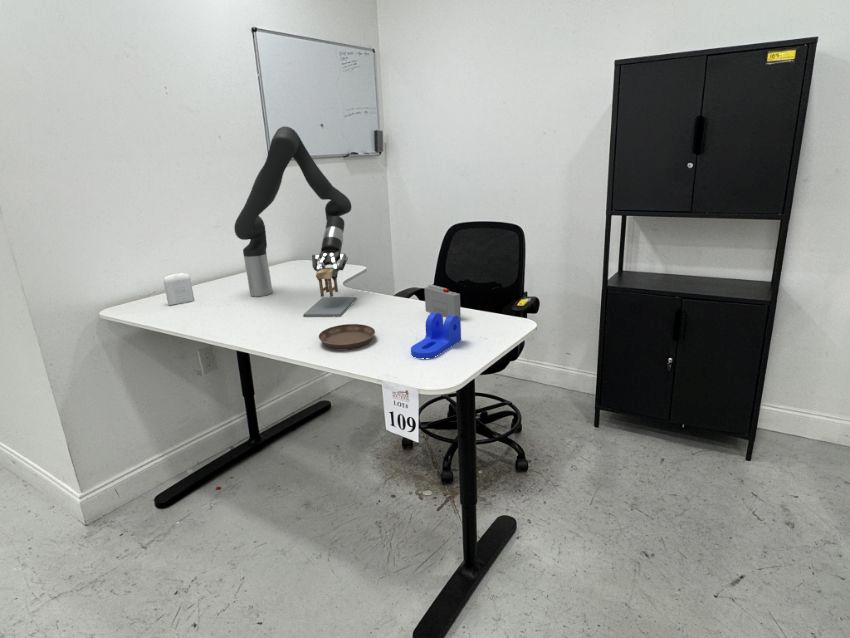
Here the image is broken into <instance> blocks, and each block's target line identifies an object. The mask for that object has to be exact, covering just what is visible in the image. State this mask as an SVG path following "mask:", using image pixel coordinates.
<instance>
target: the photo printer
mask: <svg viewBox="0 0 850 638" xmlns="http://www.w3.org/2000/svg"><path fill="white" fill-rule="evenodd" d="M163 286H164V290H165V294H166V301H167V305H168V306H174V304H175V305H178V304H185V302H186V303H190V302H195V297H194V290H193V285H192V281H191V277H190V274H188V273H180V272H179V273H174V274H173V273H172V274H170V275H167V276H165V277H163Z"/></svg>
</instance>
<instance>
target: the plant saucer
mask: <svg viewBox="0 0 850 638" xmlns="http://www.w3.org/2000/svg"><path fill="white" fill-rule="evenodd" d="M375 334H376V330H375V328H374V327H372V326H370V325H366V324H360V323H348V324H339V325H335V326H331V327H328V328H326V329H324V330H322V331H321V332H320V333H319V334H318V339H319V340H320V342H321V343H322V344H323V345H324V346H326V347H327V348H329V349H331V348H332V350H336V349H341V350H340V351H342V349H348V350H354V349H353V348H355V349H358V347H359V348H361V346H362V347H363V345H364V346H366V345H368V344H369V343H370V341H371V340H372V339H373V338H374V337H375Z"/></svg>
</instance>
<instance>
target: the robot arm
mask: <svg viewBox="0 0 850 638" xmlns="http://www.w3.org/2000/svg"><path fill="white" fill-rule="evenodd" d="M266 156H267V157H266V159H265V162H264V164H263V166H262V168H261V169H260V171H258V174H257V176H256V177H255V179H254V183H253V185H252V188H251V190H250V193H249V195H248V197H247V199H246V202H245V203H244V205H243V208H242V209H241V212H239V214H238V216H237V218H236V220H235V222H234V226H233V227H234V233H235V236H236V237H237V238H238V239H239V240H242V241H249V243H248V244H247V245H246V246H245V247H244V248H243V249H242V253H243V259H244V265H245V270H246V277H247V281H248V282H247V283H248V284H247V285H248V289H249V295H250V296H251V297H264V296H269V295H271V294H273V286H272V280H271V278H272V277H271V273H270V267H269V262H268V256H267V246H268V243H267V231H266V227H265V226H266V225H265V222H264V220H263V218H262V217H261V216H260V214H262V213H263V212H264V211H265V210H266V209H268V207H270V205H271V204H272V203H273V202H274V200H275V199H276V196H277V195H278V192H279V190H280V188H281V185H282V183H283V182H282V180H283V176H284V173H285V171H286V169H287V167H288V166H289V163H290V162H291V161H292V159H294V161H295V163H296V164H297V165H298V167H299V169H300V170H301V173H302V175H303V177H304V179H305V181H306V182H307V184H308V186H309V187H310V188H311V190H312V191H313V192H314V193H315V194H316V196H318V198H319V199H321V200H323V201H325V200H327V201H328V200H329V201H328V202H327V203H326V204H325V207H324V210H325V211H324V213H325V219H326V224H325V229H324V233H323V236H322V242H321V249H320V252H319V253H318V254H317V255H315V254H312V255H311V260H312V261H311V263H312V264H311V265H312V268H313V270H314V272H316V273H317V272H318V271H320V270H321V269H323V268H327V266H329V265H331V266H333V267H334V269H333V273H332V278H331V280H332V281H334V280H335V279H337V280H338V274H339V272H340V271H343V270H344V269H345V267H346V264H347V261H348V255H347V254H346V253H343V254H341V253H342V248H343V247H342V246H343V243H344V231H345V219H343V217H342V216H344V215H346V214H349V213H350V212H351V211H352V203H351V200H350V199H349V198H348V197H347V195H345V194H344V193H343V192H342V191H340V189H337V188H336V187H335V186H333V184H332V183H331V182H330V180H329V179H328V178H327V177H326V175H325V174H324V173H323V171H322V170H321V169H320V167H319V166H318V165H317V164H316V162H315V160H314V158H313V157H312V156H311V155H310V152H309V151H308V150H307V148H306V146H305V144H304V142H303V141H302V139H301V137H300V135H299V134H298V132H296V130H295V129H293V128H292V127H290V126H286V125H285V126H284V125H283V126H281V127H279V128H277V130H276V131H275V133H274V135H273V136H272V138H271V140H270V145H269V149H268V153H267V155H266ZM339 260H340V262H339V264H338V261H339ZM315 277H316V279H317V275H316V274H315ZM317 280H318V281H319V279H317Z"/></svg>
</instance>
